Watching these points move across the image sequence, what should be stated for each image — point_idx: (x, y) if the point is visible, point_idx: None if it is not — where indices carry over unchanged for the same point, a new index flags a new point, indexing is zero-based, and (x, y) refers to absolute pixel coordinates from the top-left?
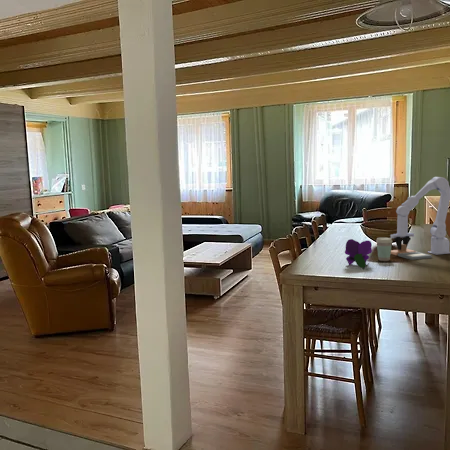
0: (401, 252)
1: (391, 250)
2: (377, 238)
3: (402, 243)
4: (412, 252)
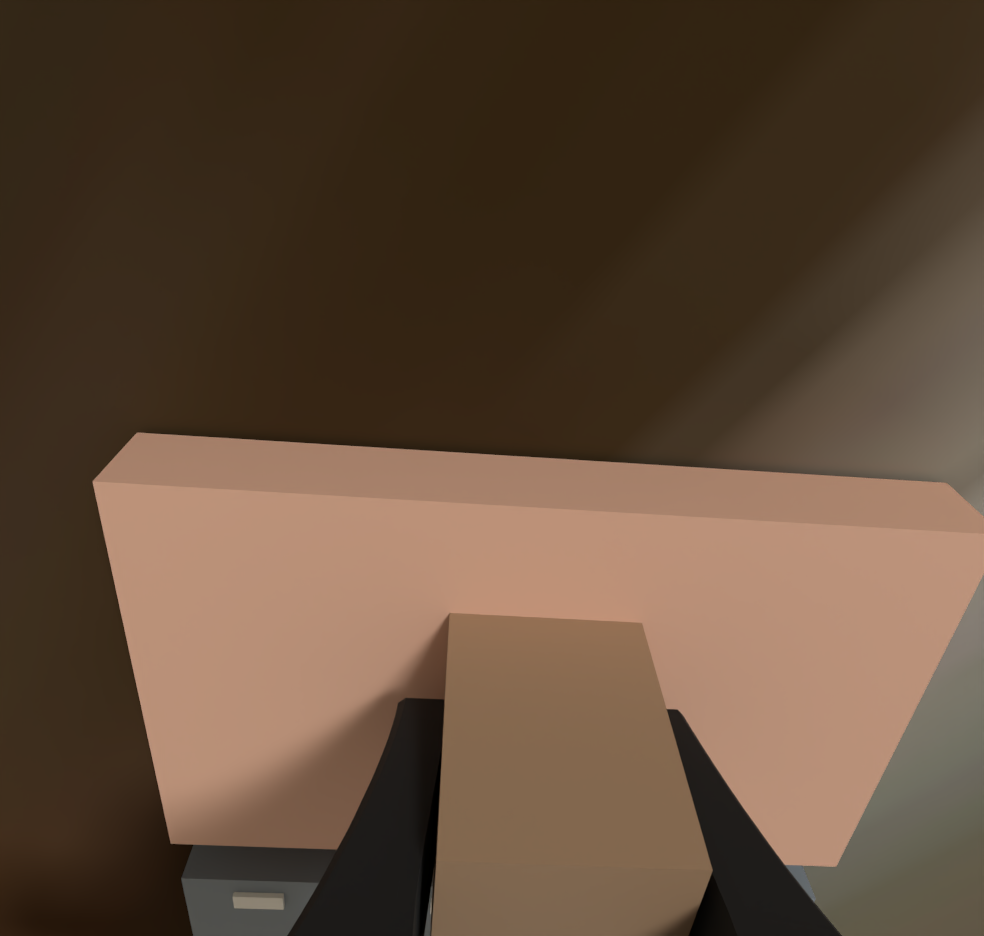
0: None
1: (233, 516)
2: None
3: (705, 884)
4: None
